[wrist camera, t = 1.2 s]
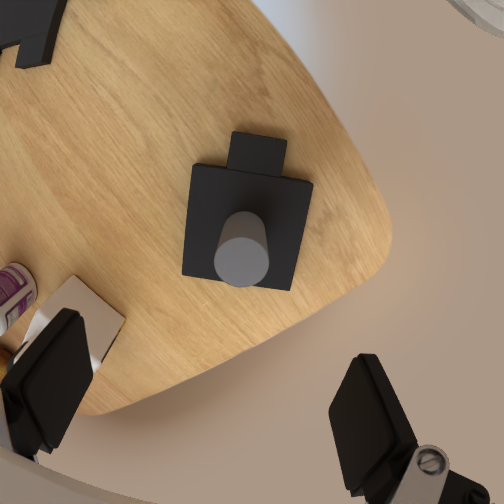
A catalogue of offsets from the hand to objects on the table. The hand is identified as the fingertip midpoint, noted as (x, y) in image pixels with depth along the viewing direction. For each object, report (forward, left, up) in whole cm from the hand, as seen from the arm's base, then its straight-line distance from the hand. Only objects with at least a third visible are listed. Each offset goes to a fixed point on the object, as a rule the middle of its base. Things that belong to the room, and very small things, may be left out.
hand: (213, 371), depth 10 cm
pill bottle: (+10, -23, -17) cm, 30 cm away
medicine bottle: (+12, -14, -17) cm, 25 cm away
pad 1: (-19, -25, -16) cm, 36 cm away
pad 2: (-2, +1, -16) cm, 16 cm away
